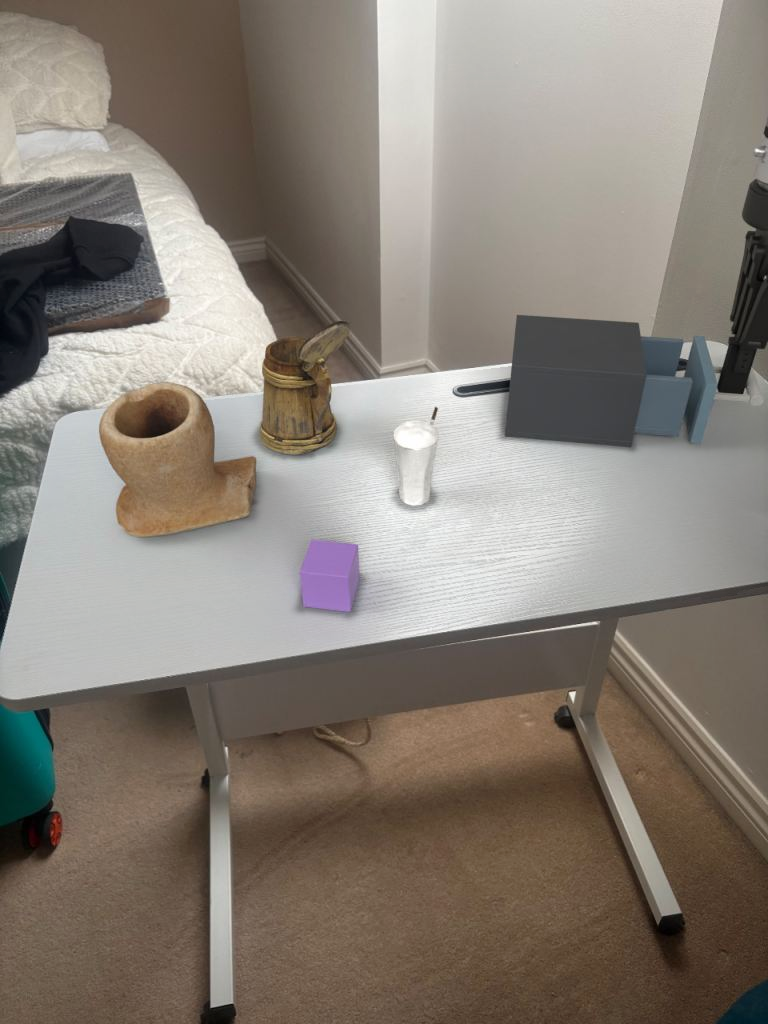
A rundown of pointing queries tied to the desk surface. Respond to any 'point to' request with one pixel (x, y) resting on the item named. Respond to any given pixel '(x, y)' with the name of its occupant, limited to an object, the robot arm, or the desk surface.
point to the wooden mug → (300, 391)
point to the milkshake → (415, 459)
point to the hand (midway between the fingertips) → (729, 390)
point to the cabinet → (575, 380)
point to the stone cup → (171, 463)
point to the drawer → (682, 388)
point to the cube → (330, 575)
